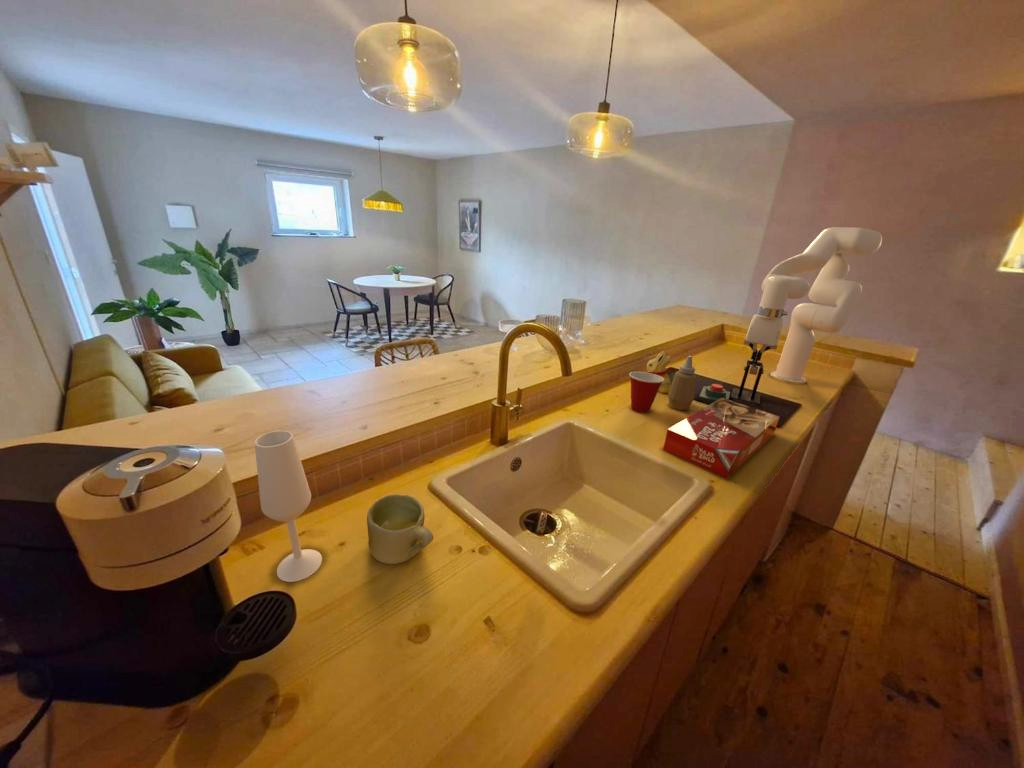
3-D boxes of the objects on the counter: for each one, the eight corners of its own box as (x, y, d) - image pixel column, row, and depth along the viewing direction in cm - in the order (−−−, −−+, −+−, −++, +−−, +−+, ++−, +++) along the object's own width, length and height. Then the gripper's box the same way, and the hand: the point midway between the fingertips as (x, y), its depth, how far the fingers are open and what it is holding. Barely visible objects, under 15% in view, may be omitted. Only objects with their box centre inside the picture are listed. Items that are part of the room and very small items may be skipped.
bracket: (732, 390, 148) (741, 358, 143) (759, 396, 144) (770, 364, 139) (730, 400, 139) (739, 366, 135) (758, 407, 135) (770, 372, 130)
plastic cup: (659, 406, 131) (666, 373, 126) (655, 419, 122) (663, 384, 117) (626, 399, 135) (632, 367, 130) (620, 411, 126) (626, 377, 121)
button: (711, 387, 140) (712, 383, 139) (722, 390, 138) (723, 385, 138) (710, 390, 137) (711, 386, 137) (721, 393, 136) (722, 388, 135)
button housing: (702, 391, 146) (704, 381, 145) (729, 397, 142) (731, 387, 140) (697, 401, 137) (700, 391, 135) (726, 408, 132) (729, 398, 131)
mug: (345, 540, 67) (363, 493, 65) (395, 525, 75) (412, 483, 73) (381, 594, 60) (402, 545, 58) (431, 572, 69) (452, 528, 66)
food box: (716, 415, 127) (721, 397, 125) (773, 435, 116) (779, 416, 113) (663, 449, 105) (667, 429, 103) (726, 478, 94) (733, 456, 91)
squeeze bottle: (693, 413, 127) (706, 361, 120) (667, 410, 129) (679, 358, 122) (688, 403, 135) (700, 354, 128) (663, 400, 136) (674, 351, 129)
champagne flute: (315, 543, 69) (293, 422, 60) (327, 567, 64) (306, 441, 55) (272, 562, 65) (241, 435, 56) (282, 589, 60) (251, 456, 51)
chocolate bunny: (647, 382, 151) (654, 345, 146) (672, 392, 143) (681, 353, 138) (636, 386, 147) (643, 348, 142) (662, 396, 139) (671, 356, 134)
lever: (746, 364, 148) (747, 358, 147) (761, 367, 145) (763, 361, 144) (744, 372, 138) (746, 366, 137) (760, 376, 136) (762, 369, 135)
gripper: (794, 314, 138) (777, 363, 145) (746, 308, 145) (733, 355, 152) (795, 318, 132) (778, 368, 139) (745, 311, 139) (731, 359, 146)
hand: (754, 361), depth 145 cm, fingers closed
